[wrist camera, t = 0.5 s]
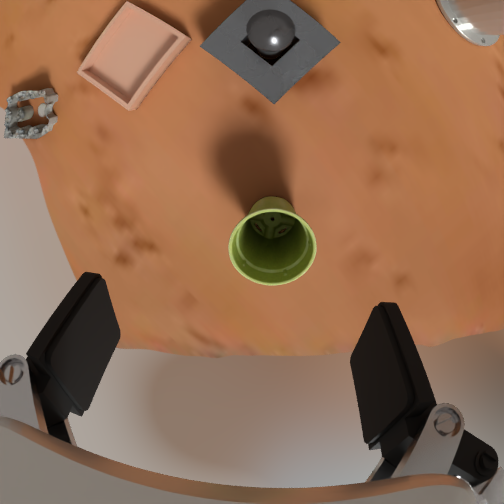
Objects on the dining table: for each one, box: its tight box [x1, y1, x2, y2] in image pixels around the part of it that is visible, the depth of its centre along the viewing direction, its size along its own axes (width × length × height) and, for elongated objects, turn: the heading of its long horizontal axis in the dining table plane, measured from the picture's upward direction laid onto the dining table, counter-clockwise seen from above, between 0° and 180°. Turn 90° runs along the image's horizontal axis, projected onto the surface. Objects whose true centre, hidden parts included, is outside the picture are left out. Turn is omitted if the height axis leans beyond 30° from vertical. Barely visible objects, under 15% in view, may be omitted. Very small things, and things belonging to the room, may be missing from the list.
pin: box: [246, 9, 295, 59], centre depth 22 cm, size 4×4×10 cm
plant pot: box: [229, 196, 316, 285], centre depth 34 cm, size 9×9×9 cm
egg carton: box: [4, 88, 58, 139], centre depth 29 cm, size 11×8×4 cm
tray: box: [77, 1, 192, 111], centre depth 26 cm, size 11×10×2 cm
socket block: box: [200, 0, 341, 104], centre depth 25 cm, size 10×10×5 cm
